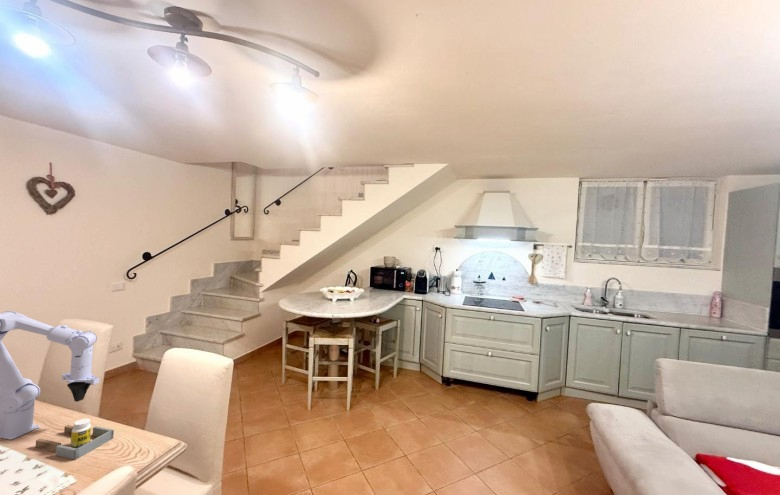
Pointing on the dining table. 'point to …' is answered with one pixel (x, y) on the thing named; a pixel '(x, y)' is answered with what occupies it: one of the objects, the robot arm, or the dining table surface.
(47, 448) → the parallel wooden rails
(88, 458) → the dining table surface
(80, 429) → the supplement bottle
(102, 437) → the cradle
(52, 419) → the dining table surface
